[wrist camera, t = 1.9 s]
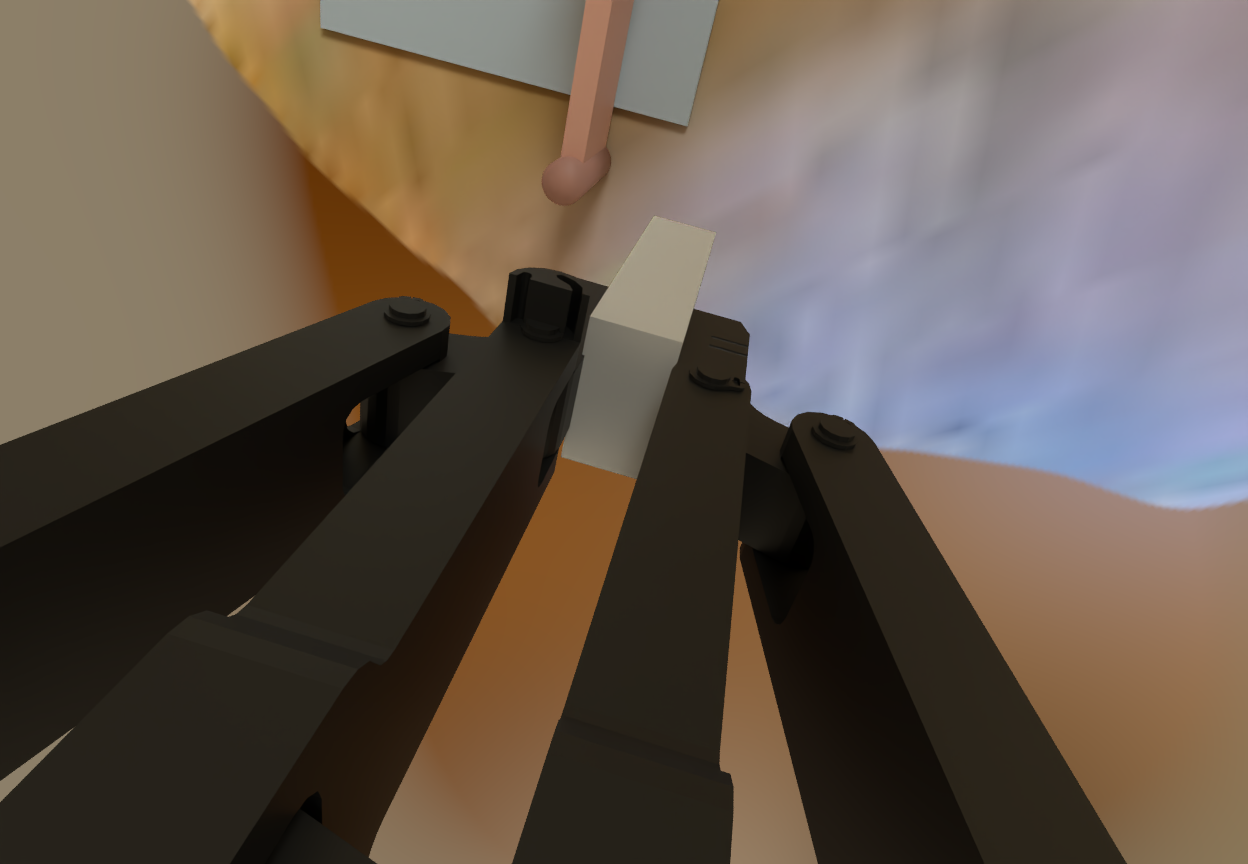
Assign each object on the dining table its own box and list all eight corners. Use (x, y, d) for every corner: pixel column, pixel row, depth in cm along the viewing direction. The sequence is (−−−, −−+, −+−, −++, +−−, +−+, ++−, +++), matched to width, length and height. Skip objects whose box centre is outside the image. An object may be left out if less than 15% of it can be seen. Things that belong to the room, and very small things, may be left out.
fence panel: (615, -84, 29) (583, -102, 24) (658, -73, 29) (634, -89, 24) (571, 174, 35) (538, 199, 30) (606, 183, 35) (579, 210, 30)
